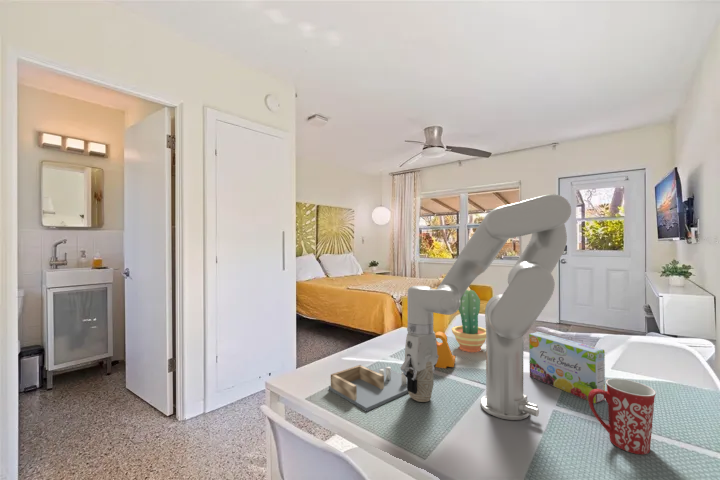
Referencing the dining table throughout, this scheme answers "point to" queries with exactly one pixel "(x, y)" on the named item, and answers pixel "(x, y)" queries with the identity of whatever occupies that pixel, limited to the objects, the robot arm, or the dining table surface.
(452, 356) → the bracket
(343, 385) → the end holder
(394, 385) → the board
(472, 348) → the potted cactus
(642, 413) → the mug
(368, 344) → the dining table surface
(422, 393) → the carving
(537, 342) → the snack box
